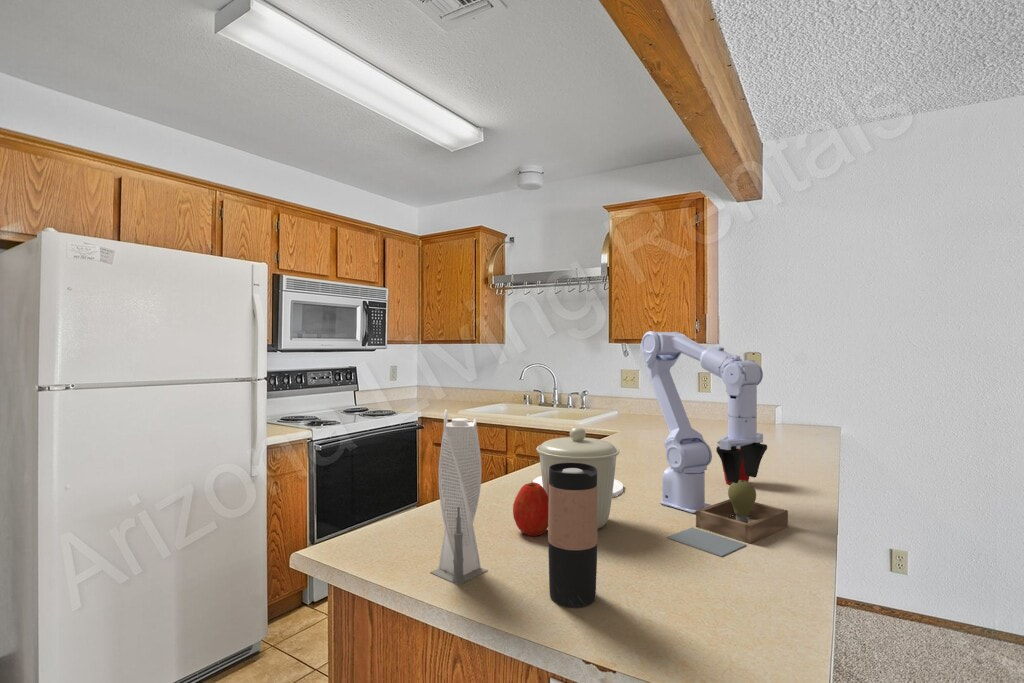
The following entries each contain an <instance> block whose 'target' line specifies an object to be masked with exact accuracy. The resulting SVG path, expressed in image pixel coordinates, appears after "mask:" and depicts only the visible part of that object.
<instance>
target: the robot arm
mask: <svg viewBox="0 0 1024 683" xmlns="http://www.w3.org/2000/svg"><path fill="white" fill-rule="evenodd" d="M639 349H640V352H641V355H642V357H643V361H644V363H645V367H646V373H647V376H648V379H649V382H650V384H651V387H652V389H653V392H654V395H655V397H656V400H657V403H658V406H659V409H660V410H661V413H662V417H663V420H664V423H665V424H666V428H667V429H668V432H669V434H668V435H667V437H666V439H665V441H664V442H663V444H664V448H665V457H666V461H667V463H668V465H669V466H668V467H666V468H665V470H664V471H663V475H662V481H661V482H662V496H661V497H662V499H661V501H660V504H661V505H664V506H668V507H671V508H673V509H678V510H682V511H684V512H688V513H691V514H696V510H699V509H702V508H705V507H708V506H711V505H712V504H709V503H707V502H706V501H705V499H706V498H705V497H706V492H705V491H706V488H705V487H706V484H705V481H706V480H705V474H706V473H705V471H708V466H709V465H710V464H711V463H712V460H713V453H712V449H711V447H710V445H709V444H708V443H707V442H706V441H705V439H704V436H703V434H702V433H700V432H699V431H698V430H696V429H694V428H693V427H692V425H691V423H690V420H689V418H688V416H687V412H686V410H685V407H684V405H683V402H682V399H681V397H680V394H679V391H678V389H677V386H676V384H675V381H674V379H673V377H672V374H671V372H670V371H671V368H672V367H674V365H675V364H676V362H678V360H679V358H680V356H681V355H685V356H687V357H690V358H692V359H694V360H696V361H698V362H700V365H701V367H702V369H704V370H705V371H707V372H709V373H711V374H713V375H714V376H716V377H719V378H720V379H722V382H723V384H724V385H725V392H726V394H727V435H725V437H723V438H721V439H719V440H720V447H718V446H717V447H716V453H717V455H718V456H719V458H720V461H721V464H722V463H723V466H724V469H725V473H726V477H727V481H728V482H733V483H738V481H739V477H740V468H741V463H742V460H743V459H744V469H745V474H746V476H749V478H757V476H758V473H759V469H760V466H761V461H762V458H763V457H764V455H765V453H766V452H767V450H768V444H765V443H764V434H763V433H759V432H757V430H758V429H757V428H758V426H757V424H758V422H757V417H758V415H757V414H758V413H757V412H758V411H757V410H758V406H757V405H758V404H757V403H758V400H757V399H758V397H757V395H758V389H757V388H758V386H759V385H760V384H761V382H762V380H763V377H764V372H763V369H762V367H761V366H760V363H758V362H756V361H755V360H754V359H747V360H743V359H742V358H741V356H740V355H738V354H731V353H729V352H727V351H725V347H723V346H720V345H719V346H711V347H709V348H707V347H705V346H704V345H702V344H700V343H699V342H696V341H695V340H693V339H691V338H689V337H687V336H686V334H684V333H680V332H678V331H653V330H652V331H651V330H649V331H647V332H645V333H644V335H643V337H642V339H641V341H640V346H639ZM739 446H740V448H741V451H738V449H736V447H739ZM723 466H722V467H723Z"/></svg>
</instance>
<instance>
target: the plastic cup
mask: <svg viewBox="0 0 1024 683" xmlns="http://www.w3.org/2000/svg"><path fill="white" fill-rule="evenodd" d="M720 440H721V439H719V440H717V441H716V442H715V445H716V446H717V447H720ZM736 449H738V451H741V448H740V446H739V447H736ZM721 466H722V471H723V476H724V481H725V484H727V485H728V486H730V485H731V484H732V483H733V482H728V481H727V477H726V473H725V469H724V466H723V463H722V462H721ZM739 480H744V481H747V482H749V481H750V476H746V474H745V469H744V459H743V460H742V463H741V468H740V477H739ZM749 483H750V482H749Z"/></svg>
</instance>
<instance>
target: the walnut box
mask: <svg viewBox="0 0 1024 683" xmlns="http://www.w3.org/2000/svg"><path fill="white" fill-rule="evenodd" d="M710 505H711V506H708V507H705V508H702V509H699V510H696V513H695V527H696V528H698V527H699V528H698V529H701V528H702V530H704V531H708V530H709V532H711V531H712V533H714V532H715V533H714V534H717V533H718V534H717V535H720V536H724V535H725V536H724V537H727V536H728V538H730V537H731V539H733V538H734V539H733V540H737V541H739V542H742V543H745V544H746V543H747V544H749V545H751V544H754V543H755V542H758V541H759V540H762V539H764V538H766V537H769V536H770V534H771V535H772V533H773V534H775V533H777V532H779V531H782V530H784V529H785V528H788V526H789V510H788V509H784V508H780V507H775V506H771V505H767V504H764V503H759V502H756V501H755V502H754V504H753V506H752V508H751V510H750V514H749V516H748V518H749V517H750V519H752V518H753V519H752V520H754V521H750V522H748V523H744V522H741V521H737V520H736V519H733V518H731V517H733V516H732V515H734V516H736V515H735V512H734V508H733V505H732V503H731V501H730V499H726V500H723V501H720V502H717V503H715V504H710ZM730 516H731V517H730ZM727 517H728V518H727ZM756 519H757V520H756ZM781 529H782V530H781ZM774 532H775V533H774Z"/></svg>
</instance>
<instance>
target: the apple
mask: <svg viewBox="0 0 1024 683" xmlns="http://www.w3.org/2000/svg"><path fill="white" fill-rule="evenodd" d="M548 510H549V498H548V495H547V493H546V491H545V490H544V488H543V487H542V486H541V485H540V484H538V483H535V482H532V481H531V482H530V483H526V484H524V485H522V486H521V487H520V489H519V490H518V492H517V494H516V496H515V497H514V502H513V504H512V514H513V519H514V522H515V524H516V527H517V528H518V529H519V531H520V532H521V533H523V534H526V535H527V536H531V537H532V536H533V537H534V536H535V537H536V536H540V535H542V534H544V533H545V532H546V531H547V529H548Z"/></svg>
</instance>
